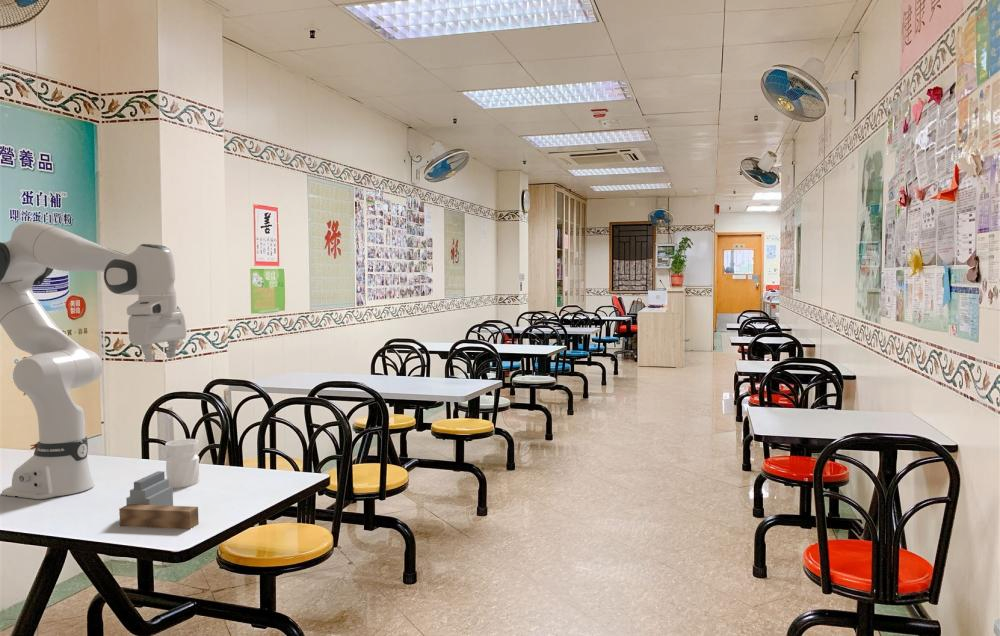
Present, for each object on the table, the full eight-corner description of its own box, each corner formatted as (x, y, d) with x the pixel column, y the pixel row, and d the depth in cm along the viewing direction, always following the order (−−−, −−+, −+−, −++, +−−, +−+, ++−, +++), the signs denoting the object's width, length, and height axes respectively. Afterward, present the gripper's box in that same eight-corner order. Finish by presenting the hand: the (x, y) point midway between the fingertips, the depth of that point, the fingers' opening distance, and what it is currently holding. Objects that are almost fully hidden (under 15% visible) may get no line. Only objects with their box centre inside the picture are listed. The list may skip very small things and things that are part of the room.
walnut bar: (119, 527, 170) (119, 508, 170) (129, 522, 174) (128, 504, 173) (190, 530, 168) (189, 511, 167) (198, 525, 171) (198, 506, 171)
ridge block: (127, 518, 176) (125, 481, 175) (151, 505, 186) (150, 471, 185) (149, 518, 175) (148, 482, 175) (173, 505, 185) (171, 471, 185)
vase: (191, 477, 212) (189, 437, 212) (205, 482, 206) (204, 441, 206) (161, 483, 206) (159, 442, 205) (175, 489, 200) (173, 447, 199)
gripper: (169, 305, 196) (171, 355, 197) (122, 308, 176) (125, 364, 176) (191, 305, 195) (193, 355, 196) (146, 307, 175) (149, 364, 176)
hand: (160, 359), depth 186 cm, fingers open, 8 cm apart
